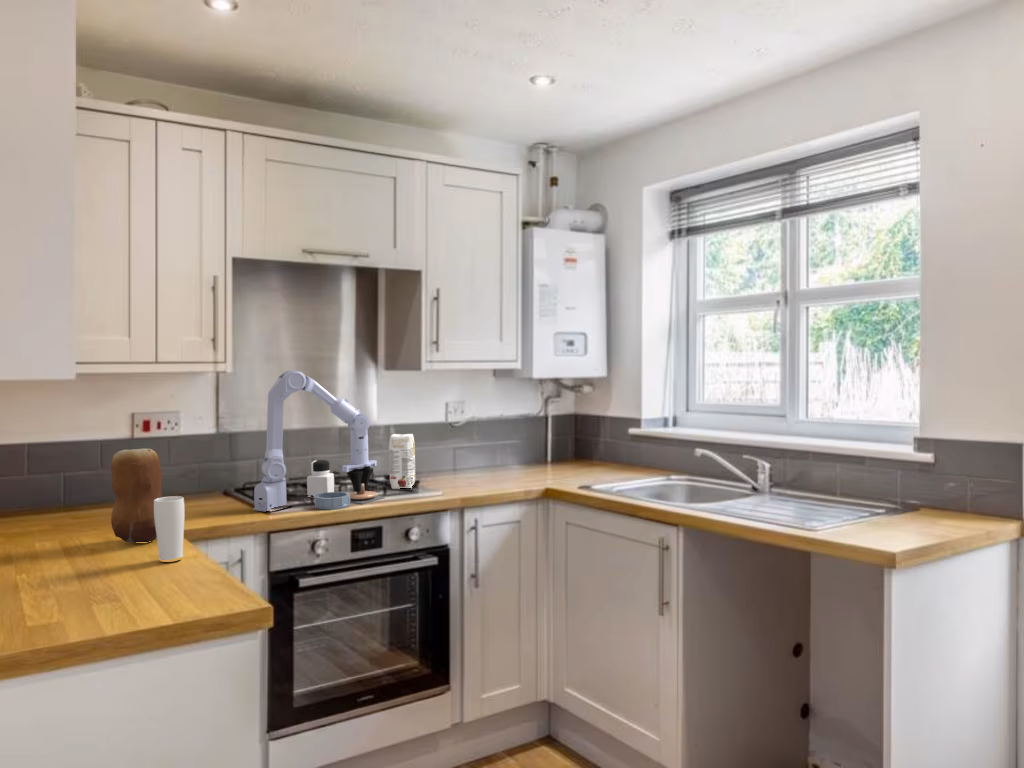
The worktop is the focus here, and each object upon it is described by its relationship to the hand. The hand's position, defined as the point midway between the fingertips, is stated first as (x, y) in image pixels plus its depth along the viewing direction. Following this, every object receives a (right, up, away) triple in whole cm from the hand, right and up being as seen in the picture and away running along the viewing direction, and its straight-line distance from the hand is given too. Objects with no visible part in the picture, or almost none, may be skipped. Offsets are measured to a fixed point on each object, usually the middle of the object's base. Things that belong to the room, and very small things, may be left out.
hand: (360, 490), depth 257 cm
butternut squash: (-48, -7, -52) cm, 71 cm away
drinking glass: (-32, -7, -70) cm, 77 cm away
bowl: (-7, -4, -10) cm, 12 cm away
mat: (0, -3, 0) cm, 3 cm away
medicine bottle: (-15, -3, +8) cm, 17 cm away
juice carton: (+11, -2, +20) cm, 23 cm away
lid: (0, -2, 0) cm, 2 cm away
